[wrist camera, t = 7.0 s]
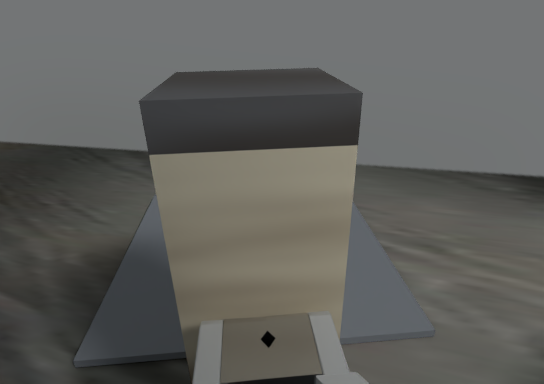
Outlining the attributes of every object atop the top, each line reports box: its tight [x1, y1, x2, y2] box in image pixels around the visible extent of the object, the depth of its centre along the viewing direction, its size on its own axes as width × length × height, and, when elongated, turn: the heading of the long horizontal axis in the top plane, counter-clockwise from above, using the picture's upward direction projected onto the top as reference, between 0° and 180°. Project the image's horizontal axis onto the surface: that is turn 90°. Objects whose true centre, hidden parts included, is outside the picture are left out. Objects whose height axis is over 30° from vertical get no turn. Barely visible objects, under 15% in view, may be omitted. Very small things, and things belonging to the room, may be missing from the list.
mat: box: [73, 195, 435, 368], centre depth 23 cm, size 16×16×1 cm
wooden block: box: [139, 68, 363, 384], centre depth 11 cm, size 4×4×12 cm
